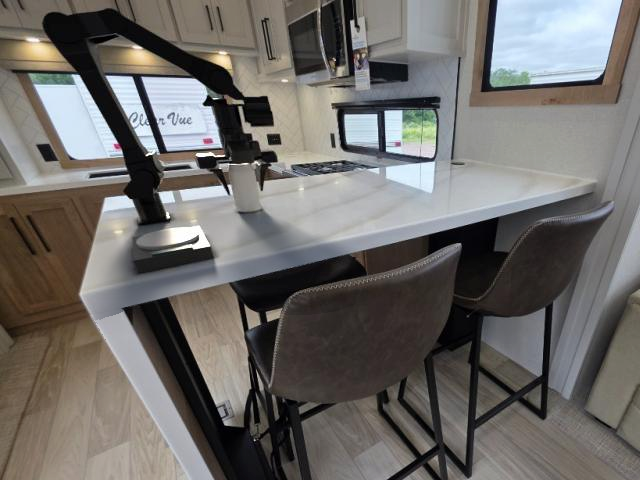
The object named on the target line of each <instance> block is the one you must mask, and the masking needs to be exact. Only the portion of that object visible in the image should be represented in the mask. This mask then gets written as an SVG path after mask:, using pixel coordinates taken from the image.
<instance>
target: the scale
mask: <svg viewBox="0 0 640 480" xmlns="http://www.w3.org/2000/svg"><path fill="white" fill-rule="evenodd" d="M131 241H132V242H131V243H132V262H133V264H134V267H135V268H136V269H135V270H136V271H137V273H138V274H141V273H146V272H151V271H157V270H161V269H166V268H171V267H176V266H181V265H184V264H189V263H190V264H191V263H194V262H199V261H205V260H209V259H213V258H215V256H214V253H213V249H212V246H211V245H210V243H209V241H208V239H207V237H206V236H205V234H204V232H203V230H202V229H201V227H200V225H197V226H191V227H172V228H171V227H170V228H164V229H159V230H156V231H152V232H147V233H146V234H142V235H136V236H132V237H131Z"/></svg>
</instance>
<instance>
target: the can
mask: <svg viewBox="0 0 640 480" xmlns="http://www.w3.org/2000/svg"><path fill="white" fill-rule="evenodd" d="M252 164H253V163H251V164H249V163H242V164H240V165H237V164H234V163H227V165H228V167H227V175H228V179H229V183H230V187H231V192H232V197H233V201H234V204H235V210H237V211H238V212H239V213H246V214H247V213H255V212H259V211H260V210H261V209H262V202H261V197H260V192H259V191H260V189H259V184H258V179H257V174H256V169H255V168H254V166H253V165H252Z"/></svg>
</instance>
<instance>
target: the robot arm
mask: <svg viewBox="0 0 640 480" xmlns="http://www.w3.org/2000/svg"><path fill="white" fill-rule="evenodd" d="M41 26H42V30H43V32H44V34H45V35H46V37H47V38H48V39H49V41H50V42H51V43H52V44H53V46H54V47H55V49H56V50H57V51H58V52H59V54H60V55H61V57H63V58H64V60H65V61H66V62H67V63H68V64H69V65H70V66H71V68H73V70H74V71H75V72H76V73H77V74H78V76H79V77H80V80H81V81H82V83H83V84H84V87H85V88H86V90H87V91H88V94H89V95H90V97H91V98H92V100H93V103H94V104H95V105H96V107H97V109H98V110H99V113H100V114H101V116H102V118H103V120H104V121H105V124H106V125H107V127H108V128H109V130H110V132H111V133H112V135H113V137H114V139H115V140H116V142H117V144H118V146H119V148H120V150H121V153H122V157H123V161H124V166H125V168H126V171H127V173H128V176H129V178H130V179H129V181H128V183H127V185H126V186H125V187H124V189H123V190H122V193H123V194H125V196H126V197H127V198H128V199H129V200H132V204H133V206H134V208H135V211H136V213H137V215H138V216H137V222H138V223H137V224H138V225H147V224H153V223H159V222H167V221H170V220H171V218H170V215H169V212H168V211H166V209H165V206H164V203H163V200H162V198H161V195H160V193H159V192H158V191H159V186H160V185H161V184H162V182H163V181H164V178H165V173H164V170H165V169H166V167H165V166H164V165H163V164H162V163H161V161H160V158H159V156H158V153H157V151H152V152H149V150H148V149H147V148H146V147H145V146H144V145H143V143H142V141H141V139H140V137H139V136H138V134H137V132H136V130H135V128H134V127H133V125H132V122H131V121H130V118H129V117H128V115H127V113H126V111H125V110H124V108H123V106H122V104H121V102H120V100H119V98H118V96H117V95H116V92H115V90H114V89H113V87H112V86H111V84H110V81H109V80H108V78H107V75H106V73H105V71H104V68H103V64H102V59H101V56H100V51H99V50H98V47H97V46H98V45H102V44H105V43H107V42H110V41H113V40H116V39H119V38H123V39H125V40H128V41H129V42H131V43H133V44H135V45H136V46H138V47H140V48H142V49H144V50H146V51H147V52H149V53H151V54H153V55H154V56H156V57H158V58H160V59H162V60H163V61H165V62H167V63H169V64H171V65H173V66H175V67H176V68H178V69H180V70H182V71H184V72H185V73H187V74H188V75H190V76H191V77H192V78H194V79H195V80H196V81H198V82H199V83H200V84H201V85H203V86H204V87H205V88H207V89H208V90H210V91H211V92H213V93H214V94H216V95H218V96H227V97H229V98H231V99H232V100H234V101H242V103H228V100H227V98H224V97H223V98H222V97H221V98H217V97H216V98H214V97H212V96H211V95H210V94H206V96H205V100H204V101H203V102H202V106H203V107H211V108H212V112H213V115H214V120H215V124H216V128H217V131H218V135H219V139H220V143H221V147H222V151H223V155H215V154H214V153H212V152H207V153H196V154H195V155H194V161H195V164H196V167H197V168H199V169H200V170H206V171H208V172H209V173H213V175H214V176H215V177H216V178H217V180H218V181H219V183H220V185H221V186H222V187H223V189H224V190H225V193H226V194H227V196H231V190H230V187H229V186H228V182H227V180H226V177H225V174H224V171H223V168H221V167H220V165H224V164H228V163H234V164H237V165H240V164H242V163H249V164H251V163H252V164H255V165H254V166H255V172H256V178H257V185H258V189H259V191H260V192H263V191H264V186H265V179H266V173H267V171H268V169H269V167H273V166H272V165H273V164H275V163H279V160H278V159H279V158H278V154H277V153H276V152H275V151H274V150H272V149H270V148H267V149H266V148H265V149H261V145H260V142H259V140H258V139H257V140H255V139H254V140H249V141H248V140H247V136H246V135H245V134H246V133H245V131H244V125H243V122H242V117H243V121H244V123H245V124H249V127H250V128H274V127H275V121H274V114H273V110H272V108H271V104H270V101H269V96H268V95H259V96H245V95H244V94H243V91H241V90H239V88H238V87H237V86H236V85H235V84H234V79H233V76H232V74H231V72H230V71H229V70H228V69H227V68H225V67H224V66H222V65H220V64H218V63H215V62H213V61H211V60H207V59H205V58H202V57H199V56H198V55H197V56H196V55H194V54H192V53H189V52H187V51H186V50H184V49H182V48H180V47H178V46H177V45H175V44H173V43H172V42H170V41H168V40H166V39H164V38H163V37H161V36H159V35H158V34H156V33H154V32H152V30H151V31H150V30H149V29H148V28H145V27H144V26H143V25H140V24H138V23H137V22H135V21H133V20H132V19H130V18H128V17H127V16H125V15H123V14H122V13H121V12H120V11H119V10H118V9H115V8H113V7H106V8H104V9H99V10H96V11H85V12H77V13H72V14H66V13H64V12H61V11H50V12H48V13H46V14H45V15H44V16H43V19H42V22H41ZM239 107H240V108H241V112H240V108H239ZM241 113H242V116H241ZM252 164H251V165H252Z"/></svg>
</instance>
